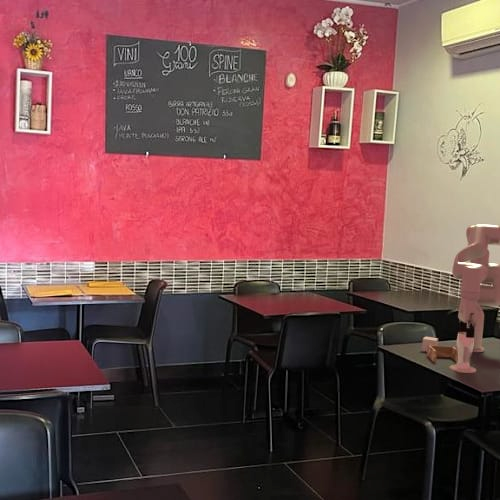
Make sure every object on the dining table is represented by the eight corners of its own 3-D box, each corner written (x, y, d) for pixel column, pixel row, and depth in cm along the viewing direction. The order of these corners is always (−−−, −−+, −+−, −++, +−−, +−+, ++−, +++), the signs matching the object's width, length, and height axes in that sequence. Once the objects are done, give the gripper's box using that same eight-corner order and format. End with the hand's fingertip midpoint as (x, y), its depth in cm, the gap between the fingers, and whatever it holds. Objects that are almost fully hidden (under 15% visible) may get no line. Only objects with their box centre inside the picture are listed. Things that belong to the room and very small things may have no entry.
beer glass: (472, 371, 288) (475, 336, 287) (455, 369, 289) (458, 334, 288) (470, 366, 295) (473, 332, 293) (453, 364, 296) (456, 330, 295)
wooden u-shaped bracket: (427, 355, 313) (428, 345, 312) (452, 357, 313) (453, 346, 312) (434, 362, 301) (435, 351, 300) (460, 364, 301) (461, 352, 301)
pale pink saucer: (446, 365, 297) (446, 363, 297) (471, 366, 297) (471, 365, 297) (453, 372, 286) (453, 370, 286) (479, 373, 286) (480, 372, 286)
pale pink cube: (434, 353, 319) (435, 340, 318) (421, 351, 321) (422, 338, 321) (437, 350, 324) (438, 338, 324) (424, 348, 327) (425, 336, 326)
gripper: (454, 290, 297) (451, 329, 300) (467, 298, 280) (463, 339, 282) (472, 291, 297) (468, 330, 300) (485, 299, 280) (481, 340, 283)
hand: (466, 334), depth 291 cm, fingers open, 9 cm apart
